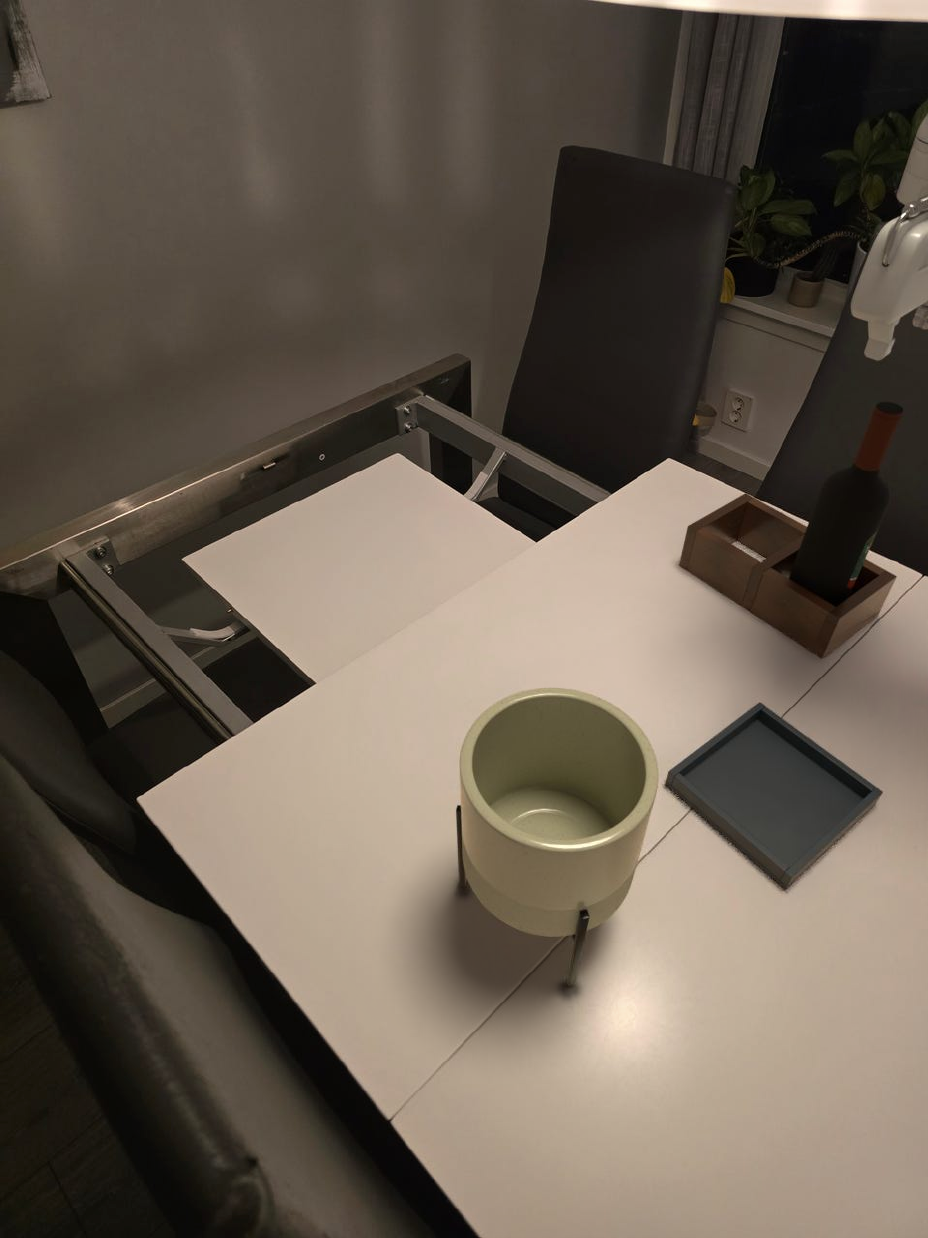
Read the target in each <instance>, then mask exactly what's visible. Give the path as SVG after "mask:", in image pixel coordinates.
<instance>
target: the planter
mask: <svg viewBox="0 0 928 1238" xmlns="http://www.w3.org/2000/svg"><path fill="white" fill-rule="evenodd" d="M659 775H660V774H659V766H658V761H657V756H656V753H655V750H654V748H653V746H652V744H651V741H650V740H649V738H648V736H647V735H646V733H645V732H644V731H643V729H641V726H640V725H639V724H638V723H637V722H636V721H635V720H634V719H633V718H632V717H630V715H628V714H627V713H626V712H625V711H623V710H622V709H621V708H619V707H618V706H616V705H614V704H613V703H611V702H610V701H607V700H605V699H603V698H601V697H600V696H597V695H595V694H591V693H588V692H585V691H581V690H576V689H572V688H566V687H565V688H564V687H541V688H533V689H528V690H522V691H519V692H516V693H512V694H510V695H508V696H506V697H503V698H502V699H500V700H498V701H496V702H495V703H493V704H492V705H490V706H489V707H488V708H486V709H485V710H484V711H483V712H482V713H481V714H480V715H479V716H478V717H477V718H476V719H475V721H474V722H473V723H472V724H471V726H470V727H469V729H468V731H467V732H466V735H465V736H464V739H463V743H462V745H461V749H460V754H459V786H460V789H459V790H460V791H459V792H460V804H457V805H456V808H455V819H456V844H457V845H456V847H457V868H458V871H457V872H458V886H459V887H466V884H467V882H468V884H469V886H470V888H471V890H472V892H473V893H474V894H475V897H476V898H477V899H478V901H479V902H480V903H481V905H482V906H483V907H484V908H485V909H486V910H487V911H488V912H489V913H491V914H492V915H493V916H494V917H495V918H496V919H498V920H499V921H501V922H503V923H504V924H505V925H508V926H510V927H511V928H514V929H515V930H518V931H521V932H524V933H527V934H531V935H534V936H540V937H550V938H551V937H552V938H556V937H557V938H558V937H559V938H560V937H568V936H571V939H572V942H573V944H572V950H571V955H570V961H569V966H568V972H567V977H566V983H567V986H568V987H570V988H571V987H574V986H575V987H576V983H577V978H578V973H579V969H580V965H581V959H582V954H583V951H584V946H585V945H584V944H585V941H586V936H587V931H590V930H592V929H594V928H596V927H598V926H599V925H601V924H602V923H604V922H605V921H607V920H608V919H610V918H611V917H612V916H613V915H614V914H615V913H616V912H617V911H618V909H619V908H620V907H621V906H622V904H623V903H624V901H625V899H626V897H627V896H628V894H629V891H630V889H631V886H632V883H633V880H634V876H635V872H636V869H637V867H638V866H637V865H638V862H639V859H640V855H641V851H642V848H643V843H644V841H645V837H646V833H647V830H648V825H649V822H650V819H651V814H652V811H653V807H654V804H655V801H656V797H657V792H658V788H659Z"/></svg>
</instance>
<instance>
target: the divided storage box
mask: <svg viewBox="0 0 928 1238" xmlns="http://www.w3.org/2000/svg"><path fill="white" fill-rule="evenodd" d="M806 529H807V525H805V524H803V523H801V522H799V521H797V520H796V519H794V518H792V517H790V516H788V515H787V514H785V513H783V512H781V511H779V510H777V509H776V508H774V507H772V506H770V505H768V504H767V503H764V502H763V501H761V500H759V499H757V498H755V497H754V496H751V495H750V494H748V493H746V492H745V493H744V494H742V495H739V496H738V497H736V498H734V499H733V500H731V501H730V502H727V503H726V504H724V505H722V506H721V507H719V508H717V509H715V510H714V511H712V512H710V513H708V514H706V515H705V516H703V517H702V518H699V519H698V520H696V521H694V522H693V523H691V524H689V525H687V528H686V531H685V532H686V533H685V537H684V541H683V545H682V549H681V554H680V559H679V564H678V566H680V567H681V568H683V569H684V570H685V571H688V572H689V573H690V574H692V575H693V576H694V577H696V578H698V579H699V580H700V581H702V582H704V583H705V584H707V585H709V586H710V587H711V588H713V589H715V590H716V591H718V592H720V593H721V594H722V595H724V596H725V597H727V598H728V599H730V600H732V601H733V602H735V603H736V604H738V605H740V606H741V607H742V608H744V609H745V610H746V611H749V612H750V613H751V614H753V615H754V616H756V617H757V618H759V619H761V620H762V621H764V622H765V623H767V624H768V625H770V626H771V627H773V628H774V629H775V630H778V632H780V633H782V634H784V636H787V637H788V638H790V639H791V640H793V641H794V642H795V643H797V644H799V645H800V646H802V647H803V648H805V649H806V650H808V651H810V652H811V653H812V654H814V655H816V656H817V657H819V658H820V659H824V658H825V657H826V656H828V655H829V654H831V652H833V651H834V650H835V649H837V648H838V647H839V646H840V645H842V644H844V642H845V641H847V640H848V639H850V638H851V637H852V636H854V635H855V634H856V633H857V632H859V631H860V630H861V629H863V628H864V627H865V626H867V625H868V624H869V623H871V622H872V621H873V620H875V619H876V618H877V617H878V616H879V615H880V613H881V610H882V608H883V607H884V604H885V602H886V600H887V597H889V594H890V592H891V590H892V587H893V586H894V584H895V582H896V580H897V577H898V576H897V575H895V574H893V573H892V572H890V571H888V570H887V569H884V568H883V567H881V566H879V565H877V564H875V563H874V562H872V561H870V560H869V559H867V558H865V561H864V563H863V565H862V567H861V570H860V572H859V574H858V577H857V579H856V581H855V583H854V586H853V588H852V590H851V592H850V595H849V597H848V599H846V600H845V601H844V602H842V603H841V604H840V605H838V606H837V607H835V606H833V605H831V604H830V603H828V602H826V601H825V600H823V599H821V598H820V597H818V596H816V595H815V594H813V593H812V592H810V591H808V590H807V589H805V588H803V587H802V586H800V585H798V584H797V583H795V582H793V581H792V580H790V579H789V576H790V573H791V571H792V568H793V565H794V562H795V559H796V557H797V554H798V551H799V548H800V546H801V543H802V540H803V537H804V534H805V532H806ZM736 541H737V542H739V543H740V544H742V545H744V546H746V547H747V548H749V549H750V550H753V551H754V552H756V553H757V554H759V555H760V556H762V557H764V559H763V560H762V561H761V560H758V559H757V558H755V557H754V556H752V555H750V554H749V553H747V552H745V551H744V550H742V549H740V548H738V547H737V546H735V545H734V544H732V543H734V542H736Z"/></svg>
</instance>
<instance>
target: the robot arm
mask: <svg viewBox="0 0 928 1238" xmlns="http://www.w3.org/2000/svg"><path fill="white" fill-rule="evenodd" d="M896 199H897V201H898V202H900V203H901V204H902V205H904V207H902V210H901V214H900V215H899V216H897V217H894V218H893V219H891V220H890V221H888V222H886V224H884V226H883V227H882V228H881V229H880V230H879V233H878V234H877V236H876V238H875V239H874V241H873V243H872V245H871V248H870V249H869V250H870V251H869V252H868V255H867V258H866V260H865V263H864V265H863V268H862V270H861V273H860V276H859V278H858V281H857V284H856V287H855V289H854V292H853V294H852V298H851V301H850V313H851V316H852V317H854V318H857V319H859V320H862V321H865V322H867V330H868V334H867V335H868V340H867V342H866V345H865V348H864V352H863V353H864V356H865V357H866V358H868V359H871V360H874V361H882V360H883V359H885V357H887V356H889V355H890V354H891V352H892V348H893V346H894V343H895V341H896V337H894V332H895V327H896V326H897V325H899V323H900V320H901V318H902V317H904V316H906V315H907V314H909V313H910V312H912V311H914V310H915V309H916V311H915V313H914V317H913V318H912V322H911V323H912V325H913V326H914V327H915V328H920V329H921V330H928V112H927V114H926V115H925V117H924V118H923V119H922V121H921V123H920V125H919V127H918V129H917V131H916V135H915V137H914V140H913V143H912V146H911V150H910V154H909V155H908V159H907V163H906V165H905V168H904V171H903V173H902V177H901V180H900V182H899V186H898V189H897V192H896Z"/></svg>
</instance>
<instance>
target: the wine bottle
mask: <svg viewBox="0 0 928 1238" xmlns="http://www.w3.org/2000/svg"><path fill="white" fill-rule="evenodd" d="M903 413H904V408H903V407H902V406H901V405H900V404H898V403H895V402H892V401H880V402H878V403H876V405H875V407H874V409H873V410H872V413H871V416H870V420H869V423H868V425H867V428H866V430H865V433H864V436H863V439H862V441H861V444H860V446H859V449H858V452H857V454H856V457H855V460H854V462H853V463H852V464H851V466H848V467H845V468H840V469H838V470H836V471H835V472H833V473H831V474H830V475H829V476H826V479H825V480H824V482H823V484H822V485H821V488H820V490H819V492H818V495H817V499H816V501H815V504H814V507H813V509H812V512H811V515H810V517H809V521H808V524H807V525H806V527H807V529H806V532H805V534H804V537H803V540H802V543H801V546H800V548H799V551H798V554H797V557H796V559H795V562H794V565H793V568H792V571H791V573H790V576H789V579H790V580H792V581H793V582H795V583H797V584H798V585H800V586H802V587H803V588H805V589H807V590H808V591H810V592H812V593H813V594H815V595H816V596H818V597H820V598H821V599H823V600H825V601H826V602H828V603H830V604H831V605H833V606H835V607H837V606H838V605H840V604H841V603H842V602H844V601H845V600H846V599H848V597H849V595H850V592H851V590H852V588H853V586H854V583H855V581H856V579H857V577H858V574H859V572H860V570H861V567H862V565H863V563H864V561H865V559H867V556H868V553H869V551H870V549H871V547H872V545H873V543H874V539H875V538H876V536H877V534H878V531H879V529H880V526H881V524H882V522H883V519H884V518H885V515H886V513H887V510H888V508H889V506H890V504H891V499H892V491H891V489H890V485H889V483H888V482H887V480H886V479H885V478H884V477H883V476H882V475H881V474H880V471H881V467H882V464H883V462H884V459H885V458H886V455H887V452H888V449H889V447H890V445H891V442H892V439H893V437H894V435H895V433H896V430H897V427H898V426H899V425H900V423H901V420H902V417H903Z"/></svg>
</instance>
